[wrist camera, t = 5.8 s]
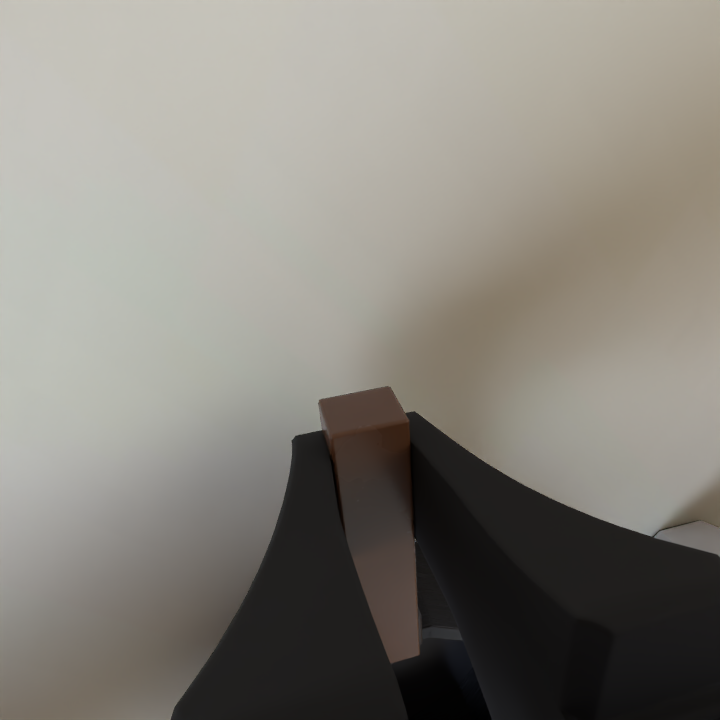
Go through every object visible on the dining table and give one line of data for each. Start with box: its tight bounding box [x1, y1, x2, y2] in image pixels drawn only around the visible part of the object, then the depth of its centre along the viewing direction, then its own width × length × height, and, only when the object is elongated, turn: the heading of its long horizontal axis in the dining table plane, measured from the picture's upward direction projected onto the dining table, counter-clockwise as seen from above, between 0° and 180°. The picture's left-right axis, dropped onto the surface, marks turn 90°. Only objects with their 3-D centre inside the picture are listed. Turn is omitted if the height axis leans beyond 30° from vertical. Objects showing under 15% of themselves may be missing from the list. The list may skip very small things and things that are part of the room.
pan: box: [318, 386, 492, 720], centre depth 16 cm, size 17×10×4 cm, turn 5°
